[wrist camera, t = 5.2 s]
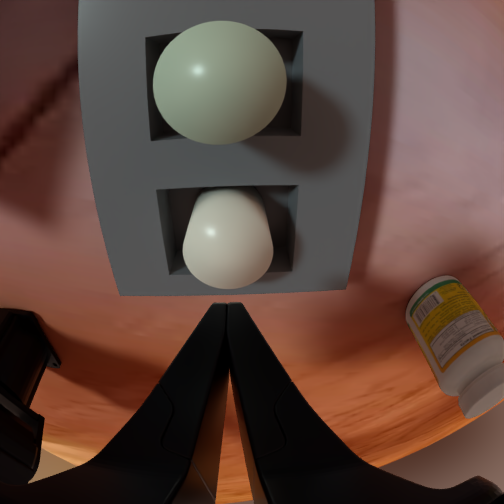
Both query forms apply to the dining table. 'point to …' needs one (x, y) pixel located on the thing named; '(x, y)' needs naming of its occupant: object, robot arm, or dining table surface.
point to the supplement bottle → (458, 344)
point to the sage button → (219, 82)
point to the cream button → (228, 237)
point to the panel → (235, 154)
